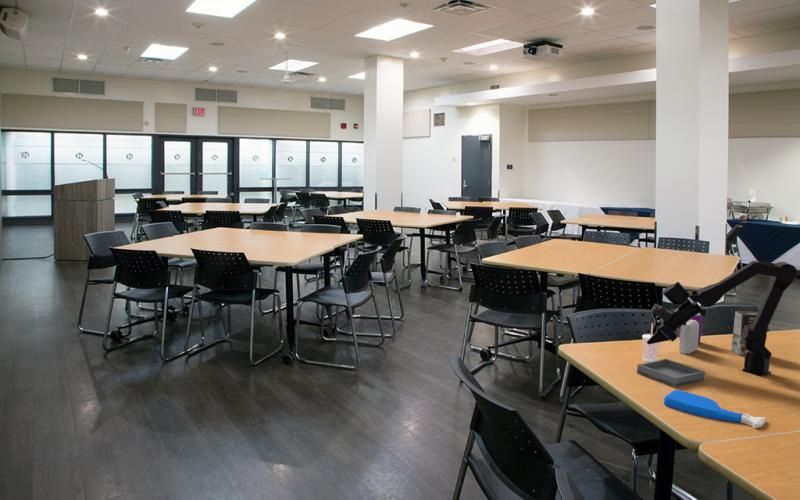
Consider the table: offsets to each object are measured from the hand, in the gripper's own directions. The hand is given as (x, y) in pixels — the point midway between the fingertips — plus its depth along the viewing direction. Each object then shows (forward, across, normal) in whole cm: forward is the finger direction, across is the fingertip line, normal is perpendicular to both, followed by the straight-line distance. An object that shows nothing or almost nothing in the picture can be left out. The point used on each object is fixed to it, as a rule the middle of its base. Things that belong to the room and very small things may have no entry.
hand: (646, 340), depth 204 cm
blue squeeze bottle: (-5, +44, +16) cm, 47 cm away
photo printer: (-6, -18, +17) cm, 25 cm away
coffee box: (-21, -23, +32) cm, 44 cm away
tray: (0, +16, +10) cm, 19 cm away
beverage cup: (+4, 0, +6) cm, 7 cm away
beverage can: (-8, -32, +18) cm, 38 cm away
